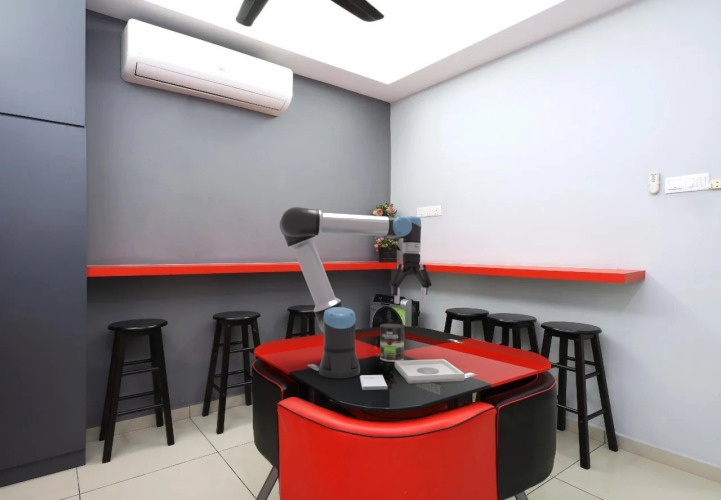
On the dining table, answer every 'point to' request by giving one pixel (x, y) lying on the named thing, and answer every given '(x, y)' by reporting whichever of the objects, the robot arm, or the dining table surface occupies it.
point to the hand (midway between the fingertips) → (410, 303)
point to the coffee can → (392, 342)
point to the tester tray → (428, 371)
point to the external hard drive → (373, 382)
